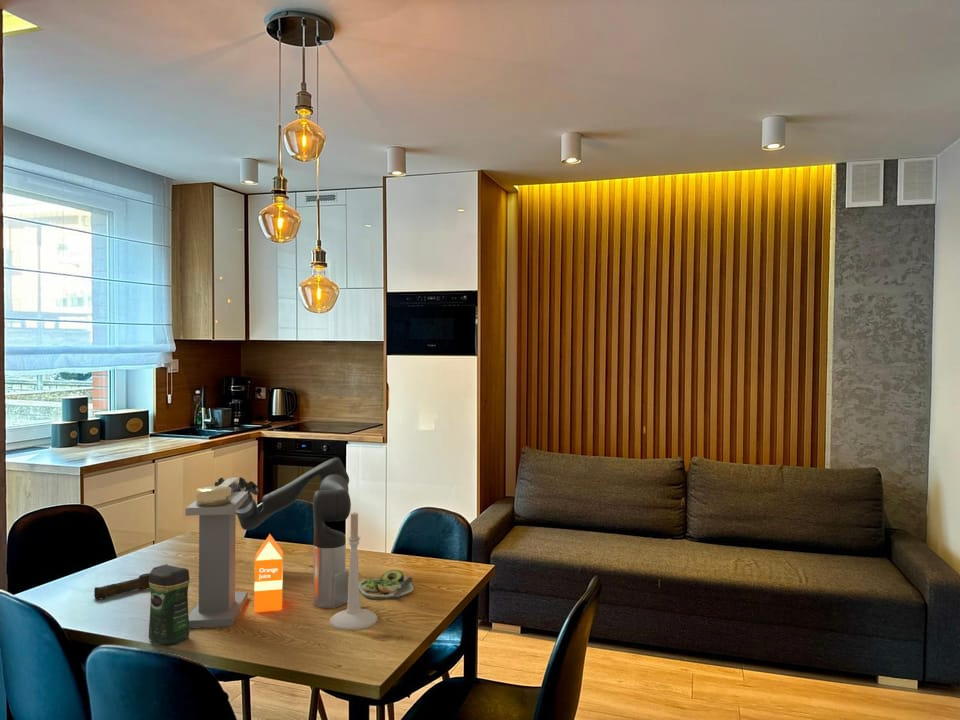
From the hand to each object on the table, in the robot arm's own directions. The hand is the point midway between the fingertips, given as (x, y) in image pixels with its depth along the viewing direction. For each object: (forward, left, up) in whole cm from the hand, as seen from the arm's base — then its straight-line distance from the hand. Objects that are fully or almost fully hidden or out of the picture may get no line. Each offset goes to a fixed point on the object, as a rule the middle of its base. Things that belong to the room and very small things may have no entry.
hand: (230, 480), depth 209 cm
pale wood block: (-6, +9, -3) cm, 11 cm away
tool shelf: (-9, +12, -35) cm, 38 cm away
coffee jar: (-13, +32, -35) cm, 49 cm away
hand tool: (+29, +13, -35) cm, 48 cm away
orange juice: (-18, +2, -35) cm, 39 cm away
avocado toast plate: (-40, -26, -35) cm, 59 cm away
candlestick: (-47, 0, -35) cm, 58 cm away
